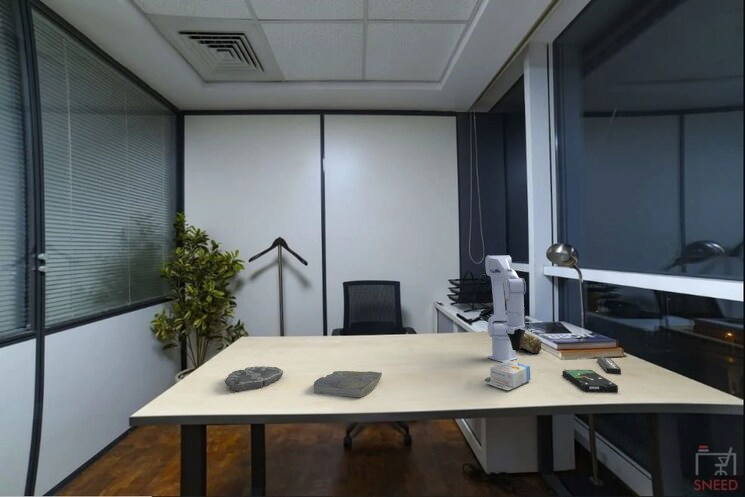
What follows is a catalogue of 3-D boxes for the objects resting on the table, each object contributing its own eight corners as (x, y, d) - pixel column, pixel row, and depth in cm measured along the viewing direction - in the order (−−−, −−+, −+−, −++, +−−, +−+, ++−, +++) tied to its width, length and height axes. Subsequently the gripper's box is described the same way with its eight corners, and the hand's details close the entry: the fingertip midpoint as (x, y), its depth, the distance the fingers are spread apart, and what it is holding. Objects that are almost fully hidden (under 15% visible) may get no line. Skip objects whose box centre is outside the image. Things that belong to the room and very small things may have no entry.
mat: (503, 374, 120) (503, 373, 120) (528, 383, 111) (528, 381, 111) (484, 380, 115) (484, 378, 115) (509, 389, 106) (509, 388, 106)
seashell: (545, 355, 143) (545, 336, 143) (524, 355, 143) (523, 336, 143) (534, 348, 154) (533, 331, 154) (514, 348, 154) (513, 331, 154)
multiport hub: (606, 374, 120) (606, 367, 120) (597, 362, 133) (596, 356, 133) (621, 375, 118) (621, 369, 118) (610, 363, 132) (609, 357, 132)
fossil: (330, 378, 122) (309, 393, 105) (331, 365, 122) (309, 379, 106) (382, 385, 116) (367, 402, 100) (382, 372, 117) (368, 387, 100)
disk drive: (619, 394, 103) (591, 376, 118) (619, 385, 103) (591, 369, 118) (585, 393, 104) (561, 376, 118) (584, 385, 104) (561, 368, 118)
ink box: (530, 365, 113) (508, 375, 104) (530, 380, 113) (509, 391, 103) (507, 359, 120) (484, 369, 110) (507, 373, 119) (485, 383, 110)
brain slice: (267, 370, 129) (266, 362, 129) (289, 381, 117) (289, 373, 117) (214, 384, 115) (214, 375, 115) (233, 398, 103) (233, 389, 103)
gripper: (509, 308, 125) (510, 344, 124) (497, 313, 113) (498, 353, 113) (529, 310, 120) (530, 346, 120) (519, 315, 109) (520, 356, 109)
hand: (516, 350), depth 116 cm, fingers closed
